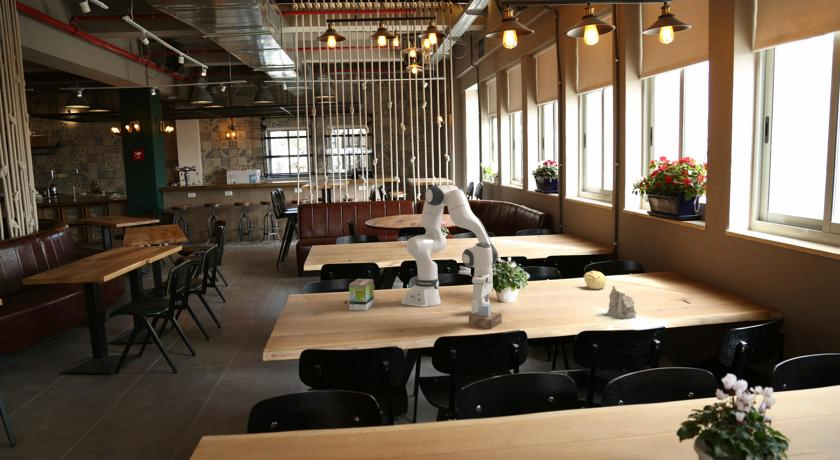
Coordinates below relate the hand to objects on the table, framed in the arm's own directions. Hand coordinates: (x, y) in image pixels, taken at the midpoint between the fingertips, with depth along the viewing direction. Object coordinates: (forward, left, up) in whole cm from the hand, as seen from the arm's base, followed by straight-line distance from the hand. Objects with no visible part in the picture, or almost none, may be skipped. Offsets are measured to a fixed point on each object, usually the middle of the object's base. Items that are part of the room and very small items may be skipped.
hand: (483, 304), depth 298 cm
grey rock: (+63, +38, -10) cm, 74 cm away
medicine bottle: (-8, +19, -10) cm, 23 cm away
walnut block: (+1, -1, -10) cm, 10 cm away
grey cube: (+1, 0, -5) cm, 5 cm away
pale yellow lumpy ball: (+41, +93, -10) cm, 102 cm away
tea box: (-74, +11, -10) cm, 75 cm away
